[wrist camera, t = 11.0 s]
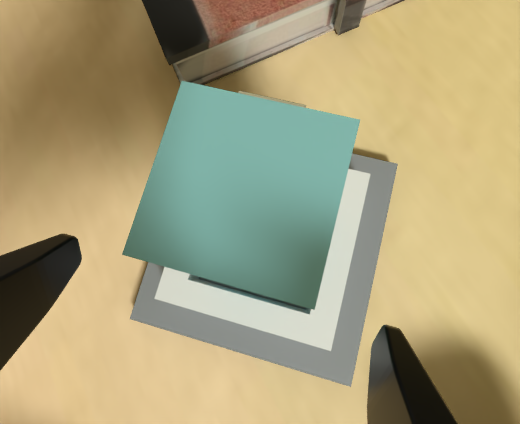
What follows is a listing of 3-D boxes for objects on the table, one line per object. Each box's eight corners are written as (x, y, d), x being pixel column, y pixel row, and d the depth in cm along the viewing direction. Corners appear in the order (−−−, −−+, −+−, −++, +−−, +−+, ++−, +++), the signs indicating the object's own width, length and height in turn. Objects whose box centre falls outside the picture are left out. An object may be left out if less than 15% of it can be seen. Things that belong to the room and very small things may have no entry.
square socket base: (347, 381, 20) (360, 402, 17) (136, 316, 22) (109, 324, 19) (392, 168, 23) (412, 149, 19) (198, 124, 24) (185, 98, 21)
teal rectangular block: (294, 288, 21) (314, 309, 8) (218, 267, 21) (122, 254, 8) (315, 207, 22) (363, 107, 9) (241, 188, 22) (185, 70, 9)
